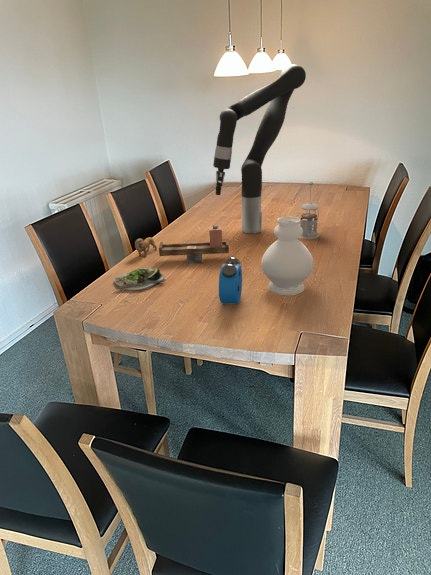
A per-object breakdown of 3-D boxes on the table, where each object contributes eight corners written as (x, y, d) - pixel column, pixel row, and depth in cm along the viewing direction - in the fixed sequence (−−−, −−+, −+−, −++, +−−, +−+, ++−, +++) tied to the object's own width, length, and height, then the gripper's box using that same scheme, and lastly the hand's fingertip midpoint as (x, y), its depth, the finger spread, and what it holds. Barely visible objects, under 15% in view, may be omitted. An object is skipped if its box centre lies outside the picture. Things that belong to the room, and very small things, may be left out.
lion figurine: (145, 261, 182) (142, 240, 178) (133, 260, 184) (131, 240, 180) (159, 248, 195) (157, 229, 191) (148, 247, 196) (146, 228, 192)
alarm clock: (225, 292, 153) (224, 252, 146) (243, 293, 152) (242, 253, 145) (219, 310, 141) (217, 268, 135) (237, 311, 140) (237, 269, 134)
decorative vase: (300, 303, 144) (304, 231, 133) (252, 292, 152) (252, 223, 141) (319, 282, 157) (324, 215, 146) (274, 273, 166) (275, 209, 155)
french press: (293, 236, 203) (295, 182, 192) (306, 229, 210) (309, 177, 199) (311, 240, 196) (315, 185, 186) (324, 233, 204) (328, 180, 193)
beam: (228, 255, 184) (227, 239, 180) (229, 262, 177) (228, 244, 174) (162, 258, 184) (160, 242, 180) (160, 265, 177) (158, 248, 174)
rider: (222, 244, 180) (221, 223, 176) (222, 248, 176) (221, 227, 172) (209, 245, 180) (209, 224, 176) (210, 249, 176) (209, 227, 172)
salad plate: (128, 300, 151) (127, 288, 149) (102, 285, 163) (100, 273, 161) (172, 282, 163) (171, 271, 161) (145, 269, 175) (143, 259, 173)
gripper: (231, 160, 188) (226, 197, 195) (230, 155, 201) (225, 190, 208) (214, 158, 187) (209, 195, 194) (214, 153, 200) (209, 188, 207)
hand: (217, 192), depth 201 cm, fingers open, 8 cm apart
